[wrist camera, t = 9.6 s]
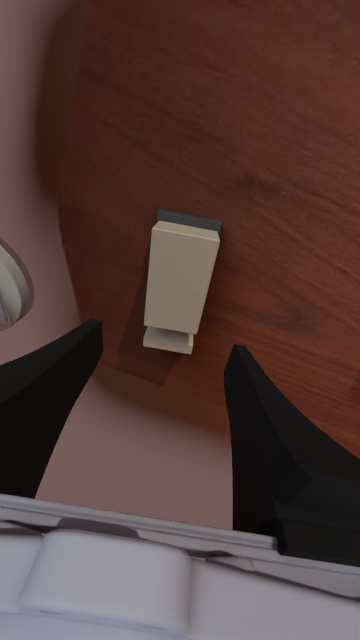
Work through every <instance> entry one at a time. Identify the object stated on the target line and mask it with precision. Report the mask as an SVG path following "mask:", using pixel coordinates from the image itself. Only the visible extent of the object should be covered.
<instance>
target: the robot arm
mask: <svg viewBox="0 0 360 640" xmlns="http://www.w3.org/2000/svg"><path fill="white" fill-rule="evenodd" d="M7 322H8V318H7V315H6V312H5V309H4V306H3V302H2V299H1V296H0V324H5V323H7ZM102 351H103V336H102V321H99V320H94V319H90V320H88V321H86V322H85V323H83V324H81V325H80V326H78V327H77V328H75V329H73V330H72V331H70V332H68V333H67V334H65V335H63V336H62V337H60V338H58V339H57V340H55V341H53V342H51V343H49V344H47V345H45V346H43V347H41V348H40V349H38V350H35V351H33V352H31V353H29V354H27V355H25V356H22V357H20V358H18V359H15V360H13V361H10V362H8V363H5V364H2V365H0V640H360V459H359V458H358V457H356V456H355V455H353V454H352V453H350V452H349V451H348V450H346V449H345V448H343V447H342V446H341V445H339V444H338V443H337V442H335V441H334V440H333V439H332V438H330V437H329V436H328V435H326V434H325V433H324V432H323V431H322V430H320V429H319V428H318V427H317V426H315V425H314V424H313V423H312V422H311V421H310V420H309V419H308V418H306V417H305V416H304V415H303V414H302V413H301V412H300V411H299V410H298V409H297V408H296V407H295V406H294V405H293V404H292V403H291V402H290V401H289V400H288V399H287V398H286V397H285V396H284V395H283V394H282V393H281V392H280V391H279V389H278V388H277V387H276V386H275V385H274V384H273V382H272V381H271V380H270V379H269V378H268V376H267V375H266V374H265V372H264V371H263V370H262V368H261V367H260V366H259V364H258V363H257V362H256V360H255V359H254V358H253V356H252V355H251V353H250V352H249V351H248V349H247V348H246V347H245V346H241V345H235V344H234V346H233V349H232V351H231V354H230V357H229V359H228V362H227V365H226V367H225V370H224V389H225V396H226V403H227V410H228V416H229V422H230V430H231V444H232V470H233V530H228V529H222V528H215V527H209V526H203V525H196V524H190V523H183V522H177V521H171V520H164V519H158V518H152V517H146V516H139V515H133V514H127V513H120V512H113V511H108V510H101V509H95V508H89V507H82V506H76V505H70V504H63V503H57V502H50V501H44V500H38V499H34V498H35V496H36V493H37V490H38V488H39V485H40V482H41V480H42V477H43V475H44V472H45V469H46V467H47V464H48V462H49V459H50V457H51V455H52V452H53V450H54V447H55V445H56V443H57V440H58V438H59V436H60V433H61V431H62V429H63V427H64V424H65V422H66V420H67V418H68V416H69V414H70V411H71V409H72V407H73V405H74V404H75V402H76V400H77V398H78V396H79V394H80V393H81V391H82V390H83V388H84V386H85V385H86V383H87V381H88V379H89V378H90V376H91V374H92V373H93V371H94V369H95V367H96V366H97V363H98V361H99V359H100V356H101V354H102ZM42 533H44V534H46V535H45V536H42ZM190 556H193V557H199V558H206V559H205V561H202V560H198V559H194V558H190Z"/></svg>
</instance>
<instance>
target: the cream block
mask: <svg viewBox="0 0 360 640" xmlns="http://www.w3.org/2000/svg"><path fill="white" fill-rule="evenodd" d="M221 227H222V222H221V220H216V219H211V218H205V217H200V216H195V215H189V214H184V213H179V212H173V211H168V210H163V209H159V210H158V211H157V218H156V225H155V226H154V227H153V228H152V236H151V248H150V259H149V271H148V282H147V294H146V305H145V317H144V325H145V326H146V333H145V335H144V340H143V346H146V347H151V348H157V349H163V350H169V351H174V352H180V353H186V354H191V352H192V348H193V340H194V336H195V334H197V331H198V327H199V323H200V319H201V316H202V312H203V308H204V304H205V300H206V296H207V292H208V288H209V284H210V280H211V276H212V272H213V268H214V264H215V260H216V256H217V252H218V248H219V244H220V239H219V235H220V231H221Z"/></svg>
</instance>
